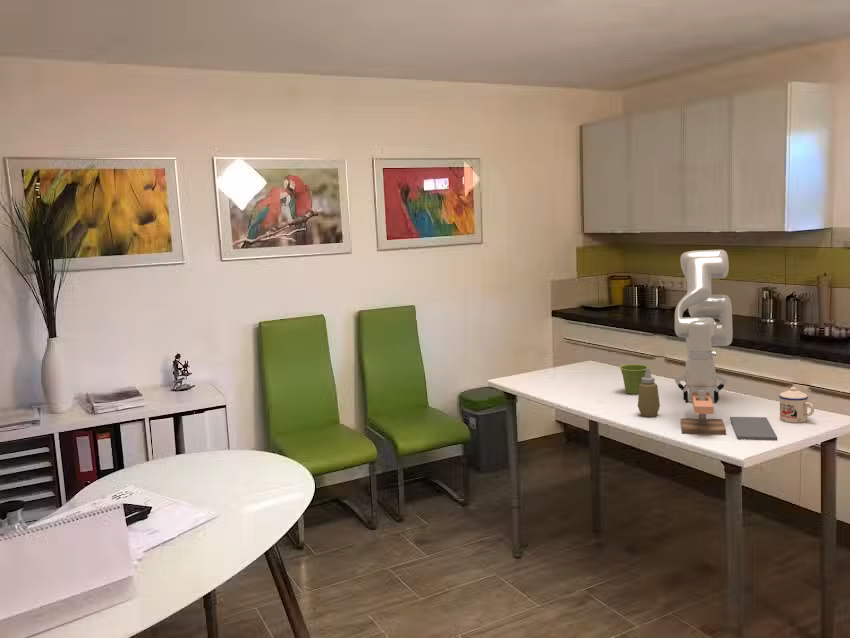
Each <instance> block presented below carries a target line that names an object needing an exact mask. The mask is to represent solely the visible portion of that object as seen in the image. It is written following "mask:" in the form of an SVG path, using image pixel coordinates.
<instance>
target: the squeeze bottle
mask: <svg viewBox="0 0 850 638" xmlns="http://www.w3.org/2000/svg"><path fill="white" fill-rule="evenodd" d="M660 406H661V404H660V396H659V387H658V384H657V383H656V382H655V377H653V376H652V374H651V370H650V368H649V367H648V368H647V369H646V372H645V377H643V378H642V383H641V384H640V385H639V394H638V398H637V408H638V410H639V414H640V415H641V416H643V417H650V418H652V417H656V416H658V413H659V410H660Z"/></svg>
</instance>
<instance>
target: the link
mask: <svg viewBox="0 0 850 638" xmlns="http://www.w3.org/2000/svg"><path fill="white" fill-rule="evenodd" d="M691 396H692V402H691V403H692V407H693V412H694V414H696V415H697V414H698V415H699V414H706V415H707V414H708V415H714V414H715V410H714V409H715V407H714V402H712V400H711V397H710V393H709V392H706V401H698V392H691Z"/></svg>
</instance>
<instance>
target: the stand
mask: <svg viewBox="0 0 850 638" xmlns="http://www.w3.org/2000/svg"><path fill="white" fill-rule="evenodd" d="M698 401H706V391H705V390H698ZM680 427H681V434H684V435H686V434H687V435H723V436H725V435H727V429H726V426H725V423H724V420H723V418H707V414H698V418H693V417H691V418H688V417H687V418H686V417H685V418H684V417H680Z"/></svg>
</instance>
